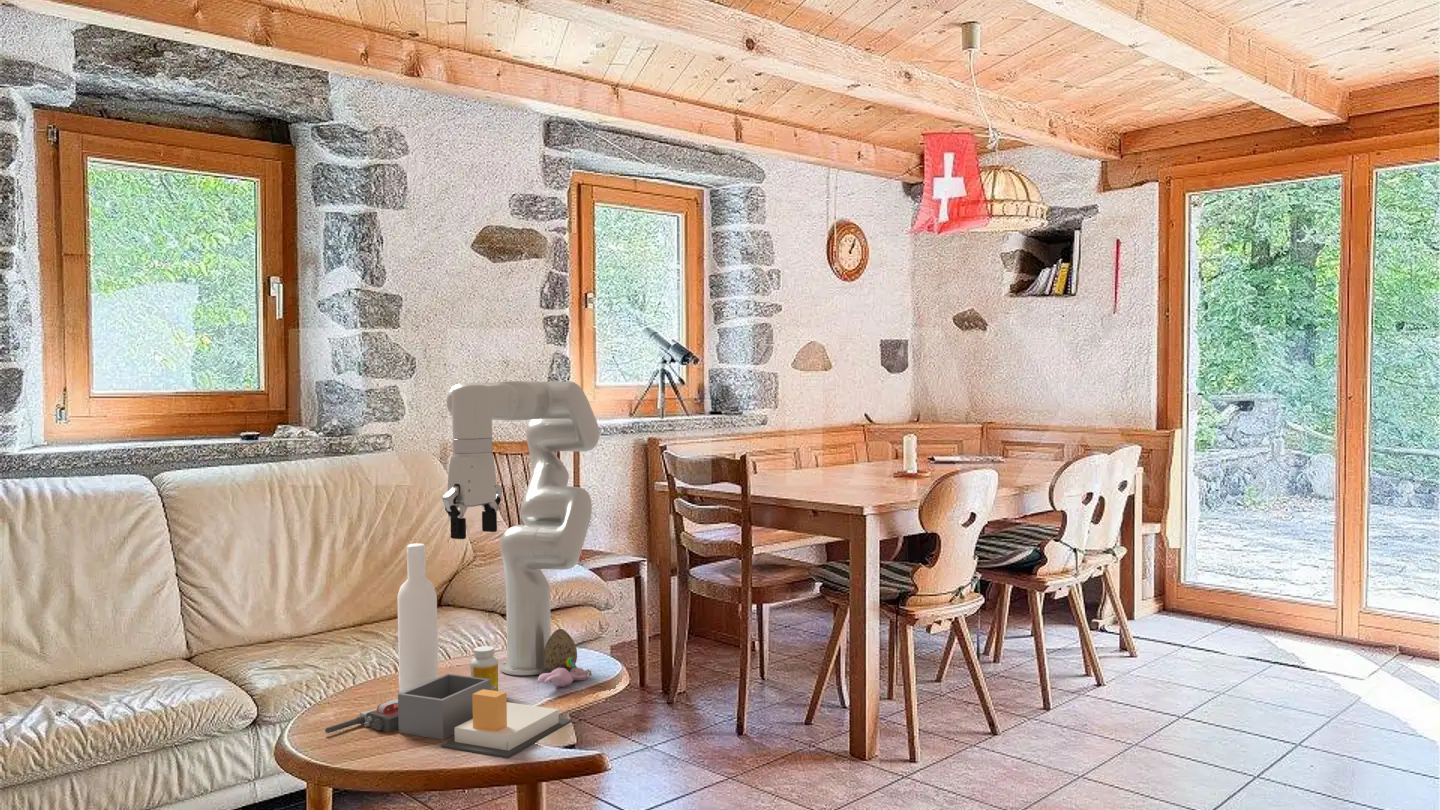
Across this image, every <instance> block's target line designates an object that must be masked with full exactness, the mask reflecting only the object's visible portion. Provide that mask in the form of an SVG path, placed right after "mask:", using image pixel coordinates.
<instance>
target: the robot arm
mask: <svg viewBox="0 0 1440 810" xmlns="http://www.w3.org/2000/svg"><path fill="white" fill-rule="evenodd" d="M446 407H447V410H448V413H449V414H450V415H451V416H452V455H451V456H450V460H449V466H448V473H447V475H448V476H447V492H446V493H445V494H444V495H443V497H442V498H441V499H442V502H443V505H444V509H445V511H446V513H447V517H448V519H450V538H451V539H453V540H465V539H467V519H466V518H465V517H464V516H465V514H466V511H467V510H468V508H472V507H474V508H475V507H479V506H481V507H482V509H483V510H482V511H481V531H482V532H488V533H495V532H497V531H498V515H497V512H498V511H499V505H500V503H501V500H502V499H501V497H502V494H503V491H504V490H503V487H501V485H498V484H497V475H496V465H495V459H494V454H493V421H510V422H511V421H528V420H530V421H529V422H528V424H527V426H526V430H525V431H526V432H525V434H526V442H527V447H528V452H529V453H528V454H529V457H530V461H531V465H532V472H531V475H530V479H529V481H528V485H527V487H526V490H525V493H524V496H523V499H522V502H521V505H520V511H519V512H520V513H519V514H520V519H521V521H522V522H523V523H524V524H517V525H513V526H511V527H509V528H507V529H506V530H505V531H504V532H503V534H502V536H501V539H500V554H501V558H502V563H503V568H504V576H505V577H504V578H505V596H506V597H505V599H506V601H505V602H506V605H505V607H506V608H505V609H506V616H505V617H506V648H507V649H506V658H507V659H505V660H503V661H502V662H501V663H500V665H499V670H500V671H501V672H502V673H504V674H507V675H510V676H534V675H535V676H537V675H541V674H543V673H550V672H549V671H548V669H547V668H546V666H545V663H544V657H543V655H544V649H545V646H546V643H547V641H548V639H549V638H550V636H551V635H552V634H551V633H552V632H551V631H552V628H551V626H552V625H551V623H552V622H551V588H550V584H549V581H548V580H547V577H546V576H545V574H544V572H543V571H542V570H570V569H572V568H574V567H576V565H577V564H578V562H579V559H580V557H581V553H582V551H583V547H584V543H585V540H586V536H587V532H588V530H589V526H590V522H591V518H592V511H593V510H592V509H593V504H592V498H591V496H590V494H589V492H588V491H587V490H586V489H584V488H582V487H580V486H570V485H569V486H568V482H569V478H570V475H569V471H568V469H567V468H566V466H565V464H564V462H562V460H561V459H560V458H559V457H558V456H557V454H556V452H588V451H591V450H593V449H595V448H596V447H597V445H598V443H599V438H600V429H599V425H598V422H597V419H596V416H595V414H594V412H593V409H592V407H591V405H590V401H589V399H588V397H587V395H586V394H585V392H584V390H583V388H582V387H581V386H580V385H579V384H578V383H576V382H574V381H569V380H568V381H532V380H531V381H525V380H518V381H517V380H514V381H512V380H511V381H499V382H498V381H497V382H462V383H457V384H455V385H453V386H452V387H451V388H450V390H449V391H448V393H447V395H446Z"/></svg>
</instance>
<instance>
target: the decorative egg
mask: <svg viewBox="0 0 1440 810" xmlns="http://www.w3.org/2000/svg"><path fill="white" fill-rule="evenodd" d="M543 657H544V663H545V666H546V668H547V669H548V671H549V672H548V673H551V672H552V671H553V670H555V669H557V668H564V669H566V670H568V671H569V673H570V671H571V669H572V668H573V667H572V668H570V667H568V666H567V665H566V660H567V659H568V658H569V657H572V659H571V661H572V662H573V663H575V665H576V663H577V659H578V649H577V645H576V643H575V641H574V639H573V638H572V636H571V635H570V634H569V633H568V632H567V631H566V630H565V629H562V628H557V629H556V630H555V631H553V632H552V634H551V636H550V638H549V639H548V641H547V643H546V646H545V649H544V655H543Z"/></svg>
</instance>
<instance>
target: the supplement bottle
mask: <svg viewBox="0 0 1440 810" xmlns="http://www.w3.org/2000/svg"><path fill="white" fill-rule="evenodd" d="M473 656H474V658H472V659H471V662H470V677H477V678H484V679H491V690H492V691H499V670H498V669H499V665H498V664H499V662H498V658H496V657H495V647H494V646H491V645H483V646H478V647H475V648H474V649H473Z"/></svg>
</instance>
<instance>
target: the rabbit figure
mask: <svg viewBox="0 0 1440 810" xmlns="http://www.w3.org/2000/svg"><path fill="white" fill-rule="evenodd" d="M571 659H572V657H569V658H568V659H567V660H566V665H567V666H568V667H570V668H572V667H573V668H572V669H571V671H570V672H569V671H568V670H566V669H564V668H557V669H555V670H553V671H552V672H547V673H543V674H539V676H538V677H537V682H538V683H539V682H541V681H543V683H544V684H545V683H547V682H548V681H550V682H551V683H552V684H553V685H554V686H559V687H560V688H566V686H568V685H569V686H570V685H571V684H572V683H573V682H574V681H578V682H579V681H582V682H583V681H586V679H587V678H588V676H589V678H590V679H591V678H592V677H593V674H592V669H589V668H588V669H586V670H584V669H583V667H578V666H577V665H576V664H575V663H573V662H572V661H571Z"/></svg>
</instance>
